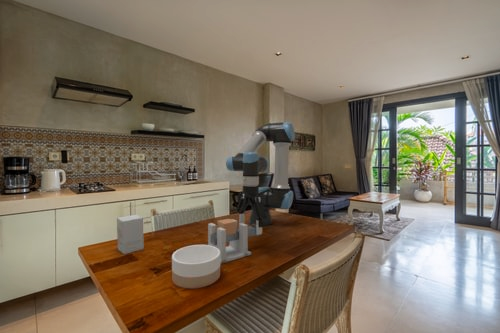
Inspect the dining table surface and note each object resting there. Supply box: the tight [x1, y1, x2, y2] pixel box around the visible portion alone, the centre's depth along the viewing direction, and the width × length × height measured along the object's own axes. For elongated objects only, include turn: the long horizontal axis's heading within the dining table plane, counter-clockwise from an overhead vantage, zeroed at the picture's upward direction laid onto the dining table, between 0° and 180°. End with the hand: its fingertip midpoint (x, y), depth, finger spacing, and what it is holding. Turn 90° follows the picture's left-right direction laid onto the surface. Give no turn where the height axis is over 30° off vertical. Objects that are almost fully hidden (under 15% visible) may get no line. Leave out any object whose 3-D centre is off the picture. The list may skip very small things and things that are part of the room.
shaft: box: [210, 224, 261, 245], centre depth 107 cm, size 24×5×5 cm, turn 126°
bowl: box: [171, 244, 221, 289], centre depth 86 cm, size 17×17×8 cm
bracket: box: [207, 218, 252, 265], centre depth 104 cm, size 17×12×14 cm
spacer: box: [216, 218, 237, 235], centre depth 104 cm, size 6×6×5 cm
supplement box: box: [116, 214, 145, 255], centre depth 110 cm, size 9×9×15 cm
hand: (250, 230), depth 111 cm, fingers open, 13 cm apart
